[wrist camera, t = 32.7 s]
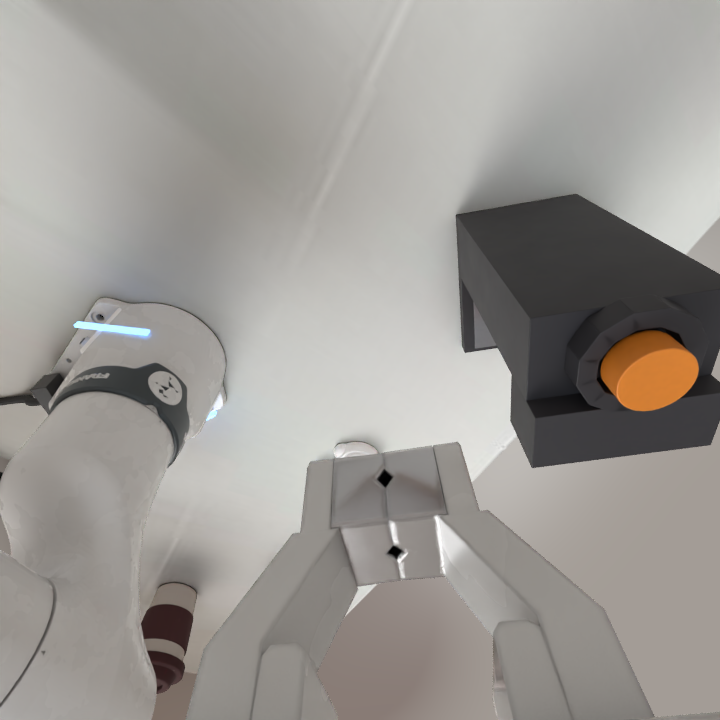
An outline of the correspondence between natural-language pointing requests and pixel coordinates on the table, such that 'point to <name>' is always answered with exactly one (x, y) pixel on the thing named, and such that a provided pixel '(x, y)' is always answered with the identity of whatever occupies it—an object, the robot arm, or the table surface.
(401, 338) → the table surface
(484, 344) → the coffee maker
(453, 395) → the table surface
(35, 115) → the table surface
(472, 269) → the column
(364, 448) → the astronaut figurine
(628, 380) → the button
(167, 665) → the coffee cup
